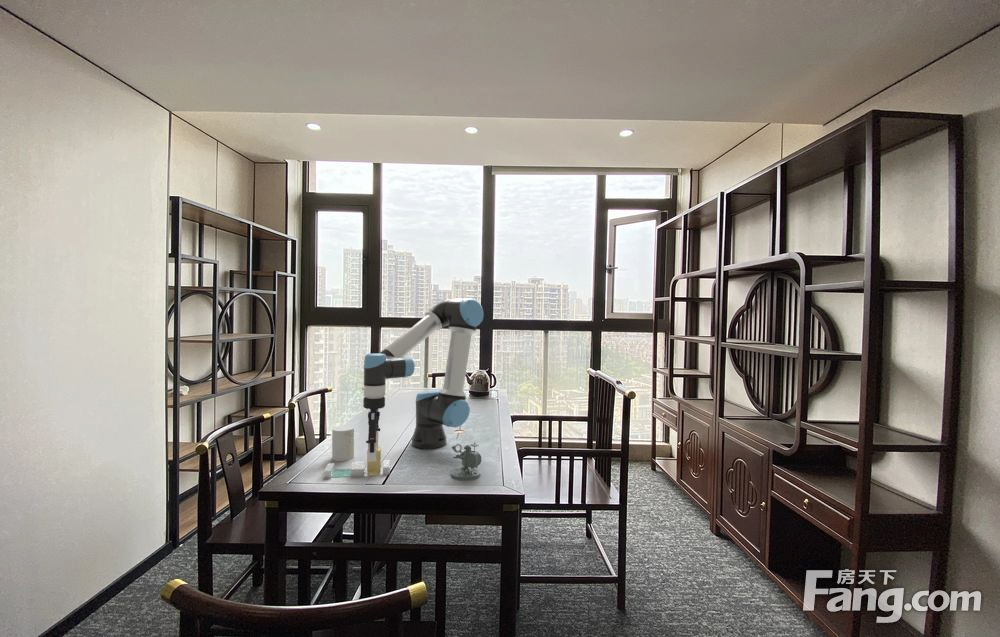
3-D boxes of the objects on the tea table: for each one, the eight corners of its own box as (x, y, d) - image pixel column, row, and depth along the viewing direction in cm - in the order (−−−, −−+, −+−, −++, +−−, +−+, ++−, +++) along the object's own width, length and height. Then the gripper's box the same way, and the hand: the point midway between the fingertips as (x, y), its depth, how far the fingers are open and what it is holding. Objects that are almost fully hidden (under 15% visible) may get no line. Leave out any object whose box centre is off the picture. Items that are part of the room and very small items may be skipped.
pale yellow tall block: (380, 468, 166) (380, 446, 166) (380, 473, 162) (380, 450, 162) (368, 469, 165) (368, 447, 165) (367, 473, 161) (367, 451, 161)
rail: (390, 467, 169) (390, 459, 169) (389, 475, 161) (389, 467, 161) (327, 471, 164) (327, 463, 164) (324, 479, 156) (324, 471, 156)
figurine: (462, 467, 169) (462, 436, 169) (486, 473, 164) (486, 440, 163) (444, 476, 160) (445, 443, 160) (469, 483, 155) (470, 448, 154)
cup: (347, 462, 173) (347, 431, 173) (328, 461, 175) (328, 430, 175) (357, 455, 181) (357, 426, 181) (339, 454, 183) (339, 424, 183)
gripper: (366, 390, 174) (365, 445, 174) (360, 403, 150) (359, 467, 150) (386, 390, 176) (385, 444, 176) (383, 403, 151) (382, 466, 152)
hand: (373, 455), depth 163 cm, fingers open, 13 cm apart
